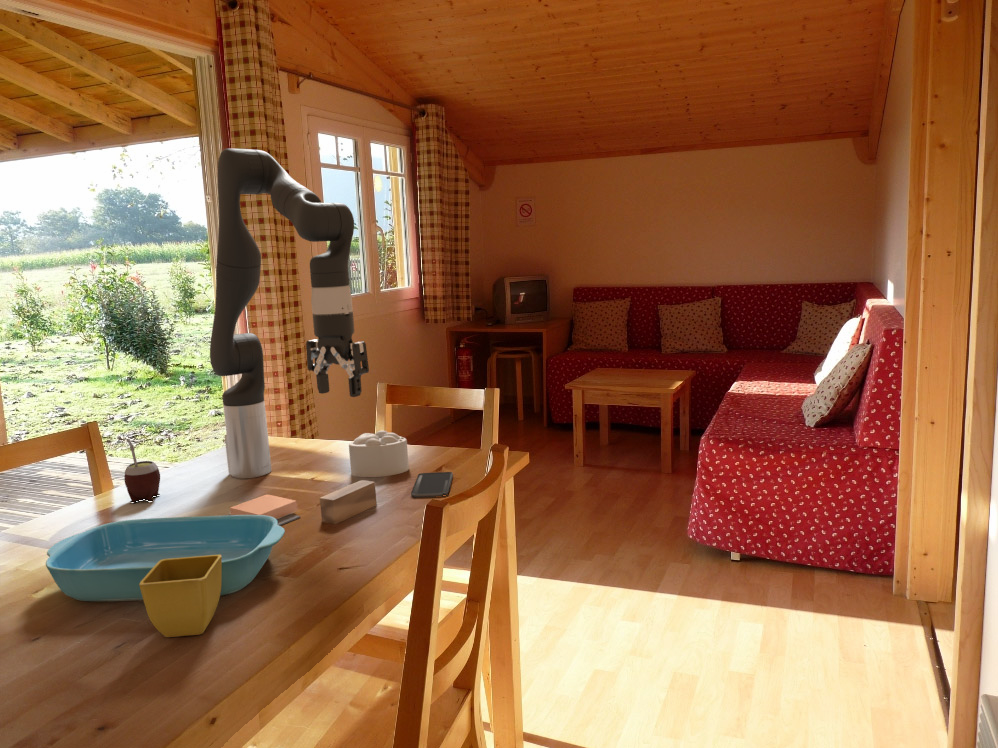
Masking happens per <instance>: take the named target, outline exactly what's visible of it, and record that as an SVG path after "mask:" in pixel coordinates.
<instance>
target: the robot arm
mask: <svg viewBox="0 0 998 748" xmlns="http://www.w3.org/2000/svg"><path fill="white" fill-rule="evenodd" d="M216 176H217V177H216V178H217V195H218V197H217V200H218V201H217V202H218V235H217V236H218V238H217V239H218V240H217V251H216V265H215V266H216V268H215V269H216V270H215V303H214V305H215V306H214V315H213V323H212V330H211V337H210V344H209V345H210V346H209V361H210V366H211V368H212V370H213V372H214V374H216V375H217V376H220V377H231V376H236V375H241V377H240V379H239V380H238V381H237V382H236V383H235V384H234V385H232V386H231V387H229V388H228V389H226V390H224V391H223V393H222V396H221V397H222V406H223V414H224V415H223V416H224V422H225V424H224V425H225V431H226V432H225V433H226V434H224V443H225V452H226V453H225V454H226V460H227V468H228V469H227V470H228V474H229V475H230V476H231V477H232V478H234V479H252V478H257V477H259V478H260V477H262V476H265V475H267V474H270V473H271V472H272V463H271V452H270V442H269V433H268V423H267V412H266V403H265V388H266V385H265V371H264V370H265V368H264V366H265V365H264V352H263V351H264V350H263V347H262V342H261V340H260V339H259V337H258V336H257V335H256V334H255V333H252V332H245V333H237V334H235V331H236V326H237V323H238V320H239V318H240V316H241V314H242V312H243V311H244V309H245V308H246V307H247V305H248V304H249V303H250V301H251V300H252V298H253V297H254V295H255V294H256V292H257V290H258V288H259V286H260V282H261V281H260V280H261V269H262V267H261V266H262V255H261V251H260V248H259V246H258V244H257V242H256V240H255V239H254V237H253V236H252V234H251V232H250V231H249V228H248V227H247V225H246V223H245V221H244V219H243V217H242V210H241V195H262V194H263V195H264V194H267V195H270V199H271V200H270V201H271V204H272V205H273V207H274V209H275V210H276V211H277V212H278V213H279V214H280V215H281V216H283V217H284V218H286V219H287V220H289V221H290V222H291V224H292V225H293V227H294V228H295V230H296V232H297V234H298V236H299V237H300V238H301V239H303V240H305V241H308V242H314V243H315V242H318V243H320V242H329V245H328V248H327V250H326V252H323V253H321V254H320V253H319V254H317V255H315V256H313V257H311V258H310V261H309V271H310V272H309V273H310V276H309V277H310V283H311V284H310V285H311V286H310V287H311V297H310V298H311V300H310V301H311V311H312V323H313V333H314V336H315V337H316V339H310V340H309V339H308V340H307V341H306V342H305V345H306V365H307V367H306V368H307V370H308V371H309V372H313V373H314V375H316V376H315V377H316V387H317V390H318V393H319V394H323V395H324V394H327V393H330V382H329V381H330V380H329V373H328V371H329V369H330V367H331V365H333V364H334V365H337V366H338V365H340V367H341V369H343V370H345V372H346V373H347V376H349V377H348V378H347V379H348V390H349V397H351V398H356V397H360V396H361V394H362V380H361V379H362V378H361V377H362V375H365V374H368V373H369V372H370V368H369V359H368V351H367V350H368V349H367V344H366V342H365V341H357V342H354V341H353V334H355V322H354V309H353V299H352V298H353V296H352V292H351V287H350V277H349V259H350V253H351V246H352V241H353V237H354V236H353V235H354V232H355V219H354V215H353V213H352V210H351V209H350V208H349V206H348V205H347V204H345V203H342V202H322V201H321V199H320V197H319V196H318V195H317V194H316V193H315V192H313V191H312V190H310V189H308V188H307V187H306V186H304V185H302V184H301V183H299V182H297V180H295V179H294V178H293V177H292V176H291V175H290V174H289V173H288V172H287V171H286V169H284V168H283V167H282V166H281V164H280V163H279V162H278V161H277V160H276V159H275V158H274V157H273V156H272V155H271V154H270V153H268V152H267V151H264V150H260V149H253V148H252V149H251V148H250V149H249V148H232V147H231V148H229V147H228V148H224V149H222V151H221V152H220V155H219V158H218V162H217V175H216Z"/></svg>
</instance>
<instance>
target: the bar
mask: <svg viewBox="0 0 998 748" xmlns="http://www.w3.org/2000/svg"><path fill="white" fill-rule="evenodd" d="M376 492H377V491H376V482H375V481H371V480H366V479H365V480H364V479H362V480H359V481H356V482H354V483H351V484H349V485H346V486H345V487H342V488H339V489H337V490H335V491H332V492H330V493H328V494H326V495H323V496H321V497H319V503H320V504H319V505H320V514H321V522H323V523H326V524H331V525H337V524H339V523H341V522H343V521H346V520H348V519H350V518H352V517H354V516H356V515H358V514H360V513H363V512H364V511H366V510H367V511H368V510H370V509H371V508H373V507H375V506H377V502H378V501H377V493H376Z"/></svg>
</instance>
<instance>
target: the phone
mask: <svg viewBox="0 0 998 748" xmlns="http://www.w3.org/2000/svg"><path fill="white" fill-rule="evenodd" d="M453 477H454V473H453V472H452V471H441V472H422V473H419V474H418V475H417V477H416V480H415V482H414V485H413V487H412V490H411V492H410V497H411V498H414V499H417V498H419V499H423V498H437V497H436V496H442V498H443V497H447V496H449V494H448V492H449V493H450V491H451V485H452V482H453V481H452V480H453V479H454V478H453ZM447 494H448V495H447ZM443 495H446V496H443Z"/></svg>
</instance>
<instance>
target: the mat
mask: <svg viewBox="0 0 998 748" xmlns="http://www.w3.org/2000/svg"><path fill="white" fill-rule="evenodd" d="M228 515H231V513H230V514H228ZM300 518H301V515H296V514H294V513H292V514H289V515H287V516H284V517H282V518H279V519H277V521H278V525H279V526H281V527H282V526H283V525H286V524H288V523H290V522H293V521H296V520H298V519H300Z"/></svg>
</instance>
